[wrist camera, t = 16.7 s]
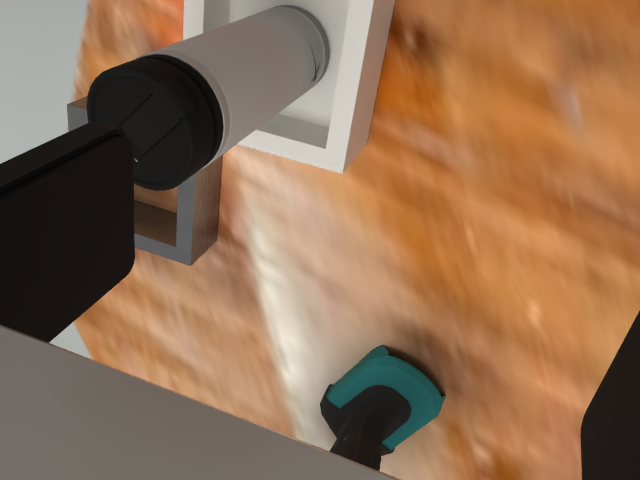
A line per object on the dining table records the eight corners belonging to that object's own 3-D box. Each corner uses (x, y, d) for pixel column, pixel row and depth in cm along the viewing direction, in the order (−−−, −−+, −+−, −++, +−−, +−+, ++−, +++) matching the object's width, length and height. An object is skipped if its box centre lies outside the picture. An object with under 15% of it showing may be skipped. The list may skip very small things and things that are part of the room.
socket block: (104, 89, 55) (67, 104, 51) (224, 122, 52) (195, 141, 48) (109, 205, 61) (76, 227, 57) (216, 240, 59) (190, 266, 55)
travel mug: (351, 57, 44) (222, 152, 27) (286, 107, 47) (136, 219, 31) (298, -18, 42) (128, 33, 26) (235, 39, 46) (51, 117, 29)
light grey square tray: (230, -65, 45) (185, -61, 40) (401, -30, 42) (377, -20, 37) (220, 104, 52) (180, 128, 46) (366, 143, 49) (342, 173, 44)
